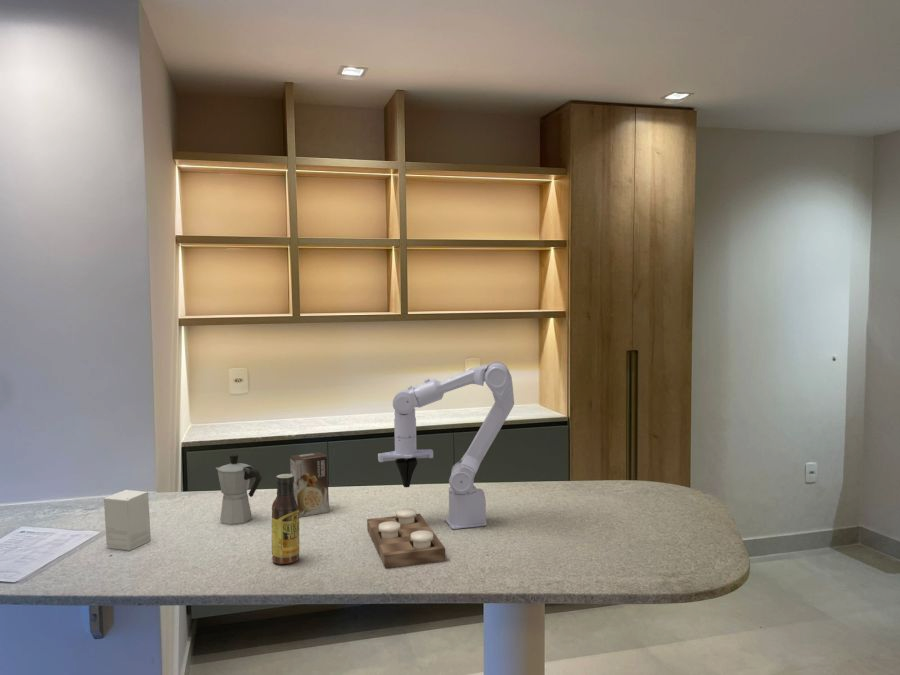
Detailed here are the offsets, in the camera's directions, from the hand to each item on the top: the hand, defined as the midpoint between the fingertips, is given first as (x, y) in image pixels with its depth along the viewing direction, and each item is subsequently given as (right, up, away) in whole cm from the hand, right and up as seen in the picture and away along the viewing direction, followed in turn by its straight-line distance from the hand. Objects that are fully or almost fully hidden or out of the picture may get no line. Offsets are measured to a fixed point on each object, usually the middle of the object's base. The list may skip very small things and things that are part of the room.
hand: (406, 486), depth 182 cm
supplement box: (-68, -12, -12) cm, 70 cm away
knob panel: (0, -11, -15) cm, 18 cm away
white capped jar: (0, -11, -6) cm, 12 cm away
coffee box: (-28, -10, +11) cm, 31 cm away
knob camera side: (+5, -12, -22) cm, 26 cm away
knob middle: (-3, -11, -16) cm, 20 cm away
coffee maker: (-46, -10, +4) cm, 47 cm away
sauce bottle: (-26, -12, -23) cm, 37 cm away
